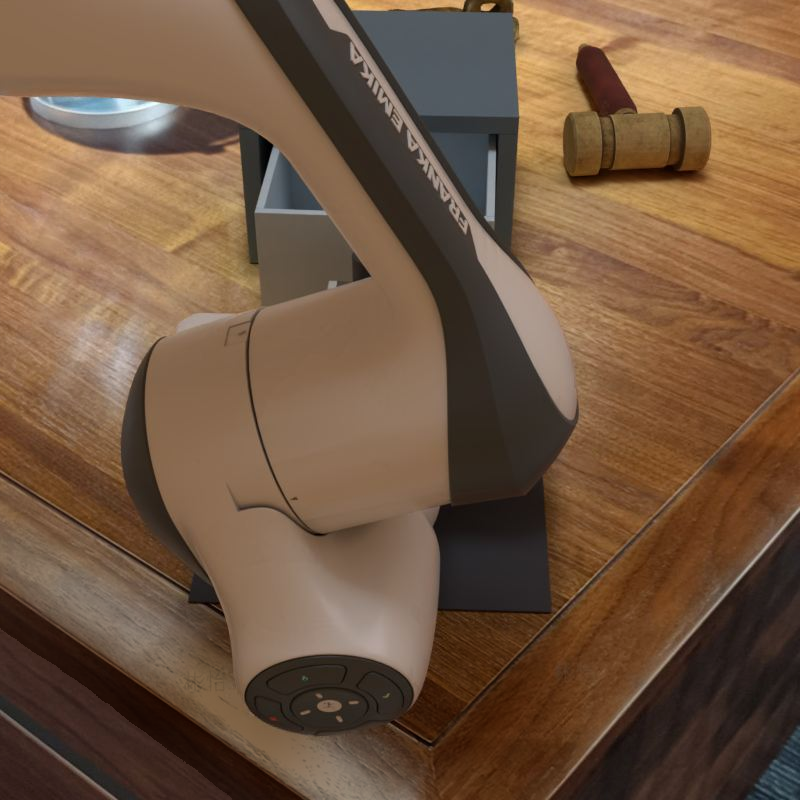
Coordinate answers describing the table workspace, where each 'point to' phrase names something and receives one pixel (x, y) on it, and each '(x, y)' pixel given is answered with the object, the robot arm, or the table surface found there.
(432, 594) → the robot arm
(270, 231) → the bin
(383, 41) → the cabinet
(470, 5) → the seal
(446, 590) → the mat
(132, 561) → the table surface
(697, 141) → the gavel
